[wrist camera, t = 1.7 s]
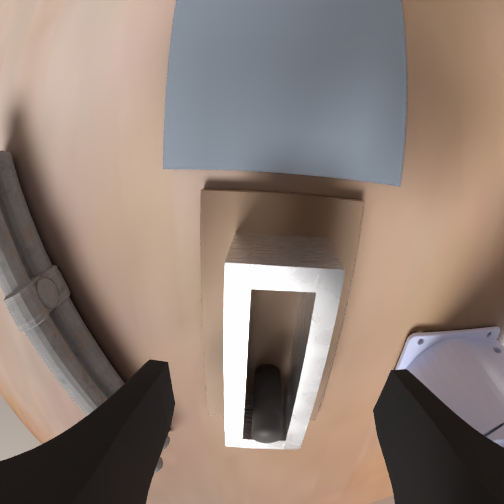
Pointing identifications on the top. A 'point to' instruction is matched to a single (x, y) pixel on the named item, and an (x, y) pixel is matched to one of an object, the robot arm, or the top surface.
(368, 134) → the rubber mat
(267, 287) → the steel link
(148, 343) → the top surface
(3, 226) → the metal rod assembly
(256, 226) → the post stand
